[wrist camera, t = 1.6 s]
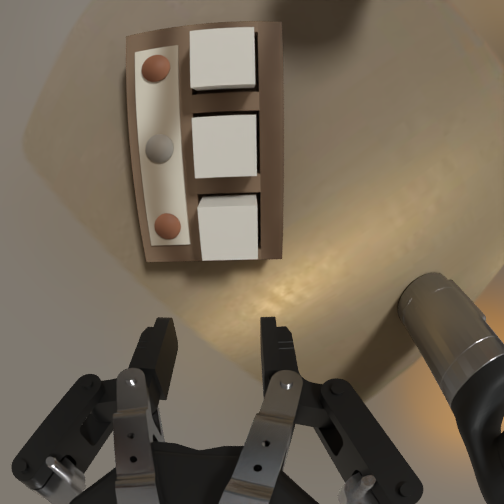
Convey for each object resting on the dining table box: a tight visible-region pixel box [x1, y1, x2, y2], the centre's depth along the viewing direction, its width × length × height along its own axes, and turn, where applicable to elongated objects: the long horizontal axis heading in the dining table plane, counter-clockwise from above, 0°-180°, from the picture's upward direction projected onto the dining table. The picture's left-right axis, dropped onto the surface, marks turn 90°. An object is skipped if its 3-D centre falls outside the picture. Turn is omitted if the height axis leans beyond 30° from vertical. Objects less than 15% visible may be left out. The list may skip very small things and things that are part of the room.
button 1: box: [197, 194, 258, 261], centre depth 27 cm, size 5×5×4 cm
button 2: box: [192, 115, 257, 178], centre depth 24 cm, size 5×5×4 cm
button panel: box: [126, 21, 284, 262], centre depth 27 cm, size 14×23×4 cm, turn 1°
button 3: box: [190, 27, 255, 91], centre depth 21 cm, size 5×5×4 cm
